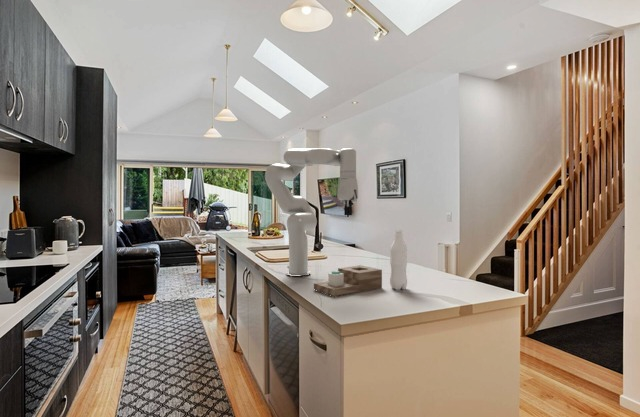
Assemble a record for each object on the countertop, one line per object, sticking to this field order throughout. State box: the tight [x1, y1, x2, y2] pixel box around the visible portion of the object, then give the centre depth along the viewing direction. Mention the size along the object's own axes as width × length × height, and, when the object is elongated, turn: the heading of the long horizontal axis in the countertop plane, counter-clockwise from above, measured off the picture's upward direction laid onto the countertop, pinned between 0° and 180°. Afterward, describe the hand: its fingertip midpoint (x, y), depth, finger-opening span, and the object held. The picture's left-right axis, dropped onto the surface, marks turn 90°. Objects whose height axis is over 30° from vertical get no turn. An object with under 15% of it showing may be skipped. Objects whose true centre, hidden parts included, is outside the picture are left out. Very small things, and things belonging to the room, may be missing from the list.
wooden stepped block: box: [313, 264, 383, 298], centre depth 165 cm, size 14×26×8 cm, turn 125°
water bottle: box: [389, 229, 408, 291], centre depth 165 cm, size 7×7×25 cm
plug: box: [327, 270, 344, 286], centre depth 161 cm, size 4×4×8 cm
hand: (348, 215), depth 179 cm, fingers closed
